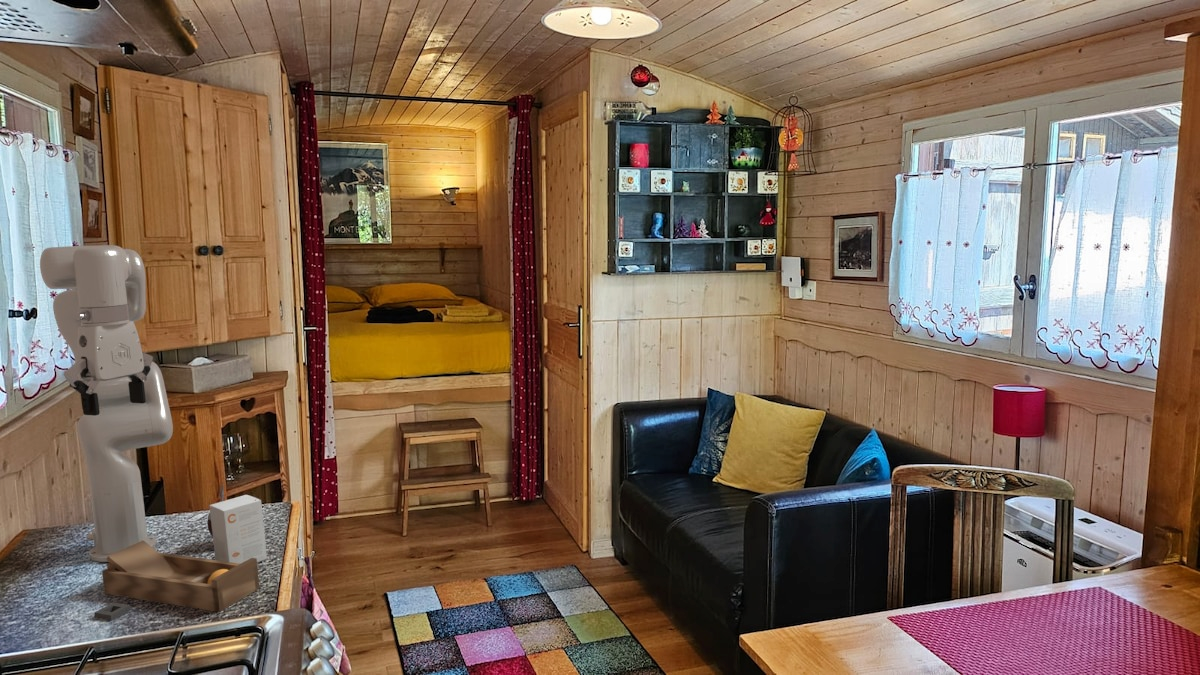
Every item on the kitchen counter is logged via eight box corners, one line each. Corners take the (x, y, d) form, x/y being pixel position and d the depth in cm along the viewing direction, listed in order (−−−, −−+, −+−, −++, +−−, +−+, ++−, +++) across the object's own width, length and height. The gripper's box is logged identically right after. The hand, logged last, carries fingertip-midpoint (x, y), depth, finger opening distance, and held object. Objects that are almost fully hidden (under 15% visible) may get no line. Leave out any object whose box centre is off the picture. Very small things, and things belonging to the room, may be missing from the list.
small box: (252, 552, 175) (247, 493, 173) (267, 559, 171) (262, 499, 169) (214, 565, 169) (208, 504, 167) (229, 573, 165) (223, 510, 163)
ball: (196, 586, 152) (213, 606, 152) (210, 570, 151) (227, 591, 150) (217, 575, 157) (233, 594, 156) (230, 559, 155) (247, 579, 155)
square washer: (94, 617, 147) (94, 612, 147) (114, 607, 151) (113, 602, 151) (111, 620, 146) (110, 615, 146) (131, 610, 150) (130, 605, 149)
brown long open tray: (104, 593, 157) (100, 557, 156) (148, 571, 166) (144, 538, 165) (219, 612, 148) (215, 574, 147) (259, 588, 157) (256, 552, 156)
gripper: (75, 322, 139) (87, 421, 141) (160, 310, 155) (170, 399, 157) (43, 321, 141) (56, 418, 143) (130, 310, 157) (140, 397, 160)
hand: (115, 408), depth 150 cm, fingers open, 9 cm apart
